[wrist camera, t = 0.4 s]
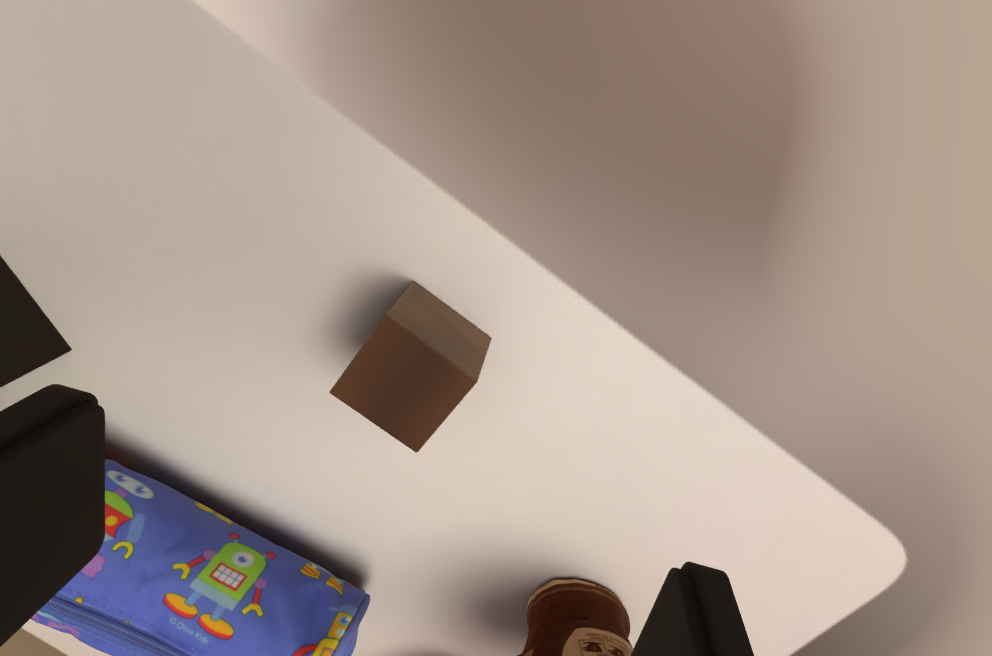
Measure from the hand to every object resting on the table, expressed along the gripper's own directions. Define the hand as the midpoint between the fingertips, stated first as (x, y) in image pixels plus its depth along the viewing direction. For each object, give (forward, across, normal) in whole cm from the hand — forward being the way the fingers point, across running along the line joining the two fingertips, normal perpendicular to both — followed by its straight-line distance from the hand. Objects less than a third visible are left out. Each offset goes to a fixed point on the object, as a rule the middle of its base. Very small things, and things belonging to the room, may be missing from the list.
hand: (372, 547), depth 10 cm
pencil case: (+22, +14, +23) cm, 34 cm away
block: (+21, +3, +6) cm, 22 cm away
